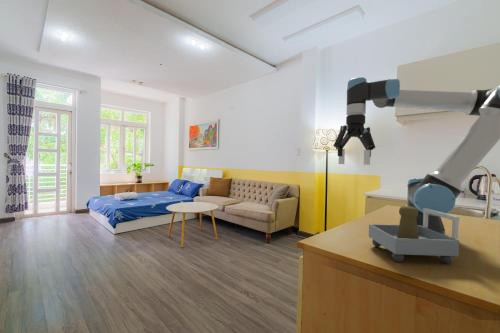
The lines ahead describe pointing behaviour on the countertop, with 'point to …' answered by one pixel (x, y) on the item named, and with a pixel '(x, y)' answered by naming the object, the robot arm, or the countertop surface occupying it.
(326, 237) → the countertop surface
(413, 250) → the cart
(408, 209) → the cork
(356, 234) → the countertop surface
